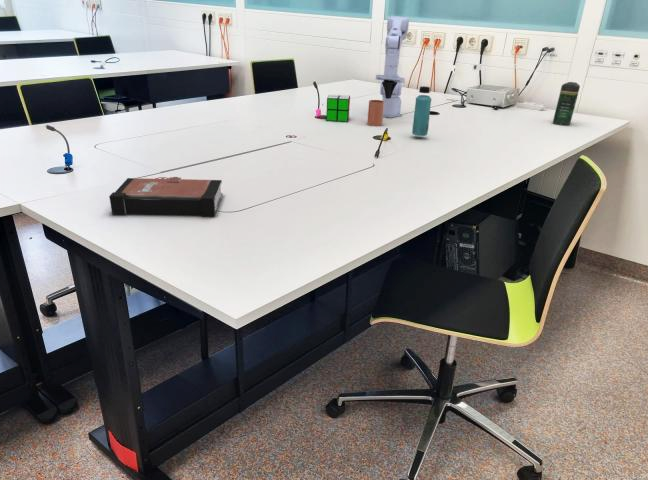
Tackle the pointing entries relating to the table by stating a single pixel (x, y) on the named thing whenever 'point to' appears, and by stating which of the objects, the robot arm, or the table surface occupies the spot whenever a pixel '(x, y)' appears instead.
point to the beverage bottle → (422, 113)
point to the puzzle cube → (338, 108)
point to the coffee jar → (566, 103)
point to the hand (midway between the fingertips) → (388, 98)
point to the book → (167, 197)
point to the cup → (375, 112)
